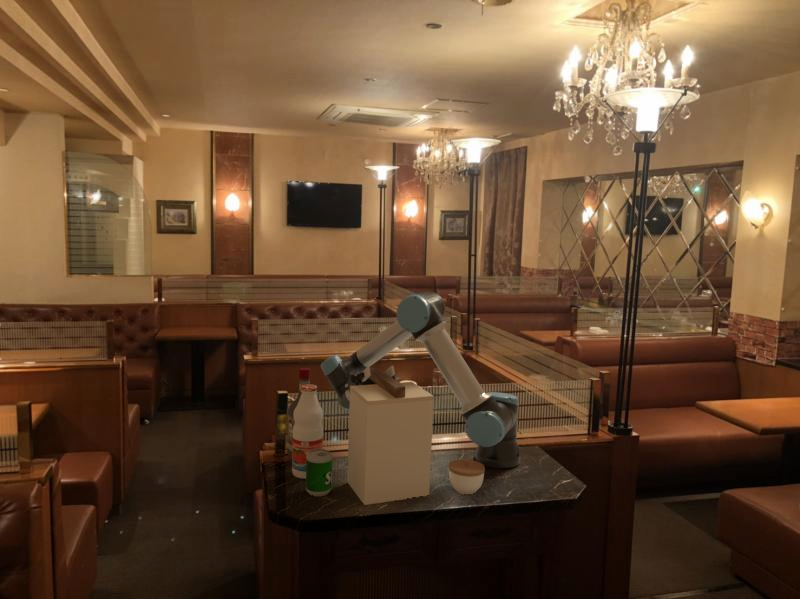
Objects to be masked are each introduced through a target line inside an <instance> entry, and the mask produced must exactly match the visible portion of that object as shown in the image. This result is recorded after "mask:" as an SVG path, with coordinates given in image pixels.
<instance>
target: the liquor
mask: <svg viewBox="0 0 800 599" xmlns="http://www.w3.org/2000/svg"><path fill="white" fill-rule="evenodd" d="M298 370H299V371H298V379H299V382H298V395H297V398H296V399H295V400H294V401H293V402H292V403H291V404H290V405H289V406H288V409H287V434H286V435H287V440H286V441H287V443H286V444H287V445H286V446H287V447H286V448H287V449H286V454H287V456H288V457H289V458H290V459H291V460H292V444H293V427H294V425H295V421H294V416H293V415H294V410H295V408H296V407H297V405H298V402H299V400H300V397H301V394H302V392H301V386H302V385H306V384H311V383H310V380H311V368H310V367H300V368H299V369H298Z"/></svg>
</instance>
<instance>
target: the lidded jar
mask: <svg viewBox="0 0 800 599" xmlns="http://www.w3.org/2000/svg"><path fill="white" fill-rule="evenodd" d="M485 470H486V469H485V465H483V464H482V463H480V462H478V461H477V460H473V459H469V458H460V459H459V458H457V459H454V460H451V461H450V462H449V463H448V478H449V482H450V485H451V486H452V488H453V489H454V490H455V492H456V491H457V492H456V493H458V492H459V493H458V494H460V493H461V495H464V494H471V495H473V493H474V494H476V492H477V491H478V490H479V489H480V488H481V486H482V485H483V482H484V476H485Z"/></svg>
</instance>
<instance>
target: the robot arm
mask: <svg viewBox="0 0 800 599" xmlns="http://www.w3.org/2000/svg"><path fill="white" fill-rule="evenodd" d="M445 313H446V302H445V301H444V299H443V298H442V296H440V294H438V293H436V292H433V291H428V290H427V291H422V292H418V293H411V294H410V295H408V296H406V297H404V298H403V299H401V301H400V302H399V304H398V305H397V309H396V321H395V322H393V323H392V324H390V325H389V326H388V327H386V328H385V329H384V330H382V331H381V332H380V333H378V334H377V335H376V336H375V337H373V338H372V339H370V340H369V341H368V342H367V343H365V344H364V345H362V346H361V347H360V348H358V349H357V350H356V351H355V352H353V353H352V354H350V355H349V356H347V357H345V358H341V357H340V356H339V355H338V354H334V355H332V356H330V357H328V358H326V359H325V360H324V361H323V362H321V364H320V368H321V370H322V372H323V374H324V376H325V377H326V379H327V381H328V382H329V384H330V385H331V388H332V389H333V390H334V391H335V393H336V395H337V404H338V406H339V407H340V408H341V409H342V410H346V411H349V409H350V386H359V385H373V384H376V383H375V382H373V381H372V380H371V379H369V377H370V376H371V374H370V368H371V366H373V365H374V364H375V363H377V362H378V361H379V360H380V359H382V358H384V357H385V356H386V355H388V354H389V353H390V352H392V351H393V350H395V349H396V348H397V347H398V346H400V345H401V344H403V343H404V342H405V341H407V340H408V339H410V338H411V337H413V339H414V340H415V341H416V342H418V343H419V342H420V343H422V344H423V346H424V347H425V350H426V351H427V352H428V354H429V356H430V357H431V359H432V360H433V362H434V364H435V365H436V367H437V369H438V370H439V372H440V374H441V375H442V377H443V378H444V380H445V381H446V383H447V385H448V386H449V388H450V390H451V391H452V394H453V395H454V396H455V398H456V399H457V401H458V403H459V404H460V406H461V410H460V415H461V417H462V418H463V420H464V421H465V432H466V436H467V437H468V438H469V439H470V441H471V442H472V443H474V444H475V445H477V448H476V449H475V455H474V457H475V461H478V462H480V463H482V464H483V465H484V467H485V466H486V467H489V468H494V469H509V468H511V469H512V468H515V467H517V466H519V465H520V463H521V453H520V450H519V444H518V441H517V435H518V434H517V432H518V420H519V419H518V418H519V408H520V405H519V397H518V396H516V395H514V394H510V393H505V392H495V391H494V392H493V391H492V392H491V391H490V392H488V391H487V392H485V391H484V389H483V388H482V386H481V384H480V383H479V381H478V379H477V378H476V376H475V375H474V373H473V372H472V369H471V368H470V366H469V365H468V364H467V362H466V361H465V359H464V357H463V356H462V354H461V352H460V350H458V348H457V346H456V344H455V343H454V341H453V340H452V338H451V336H450V335H449V333H448V332H447V330H446V324H447V321H446V319H445V318H444V316H445ZM395 372H396V370H395V366H394V365H390V366H389V367H388V368H387V369H385V371H384V373H386V374H387V375H389V376H390V377H392V378H393V379H395V380H396V376H395V375H396V373H395Z"/></svg>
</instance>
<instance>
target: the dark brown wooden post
mask: <svg viewBox="0 0 800 599" xmlns="http://www.w3.org/2000/svg"><path fill="white" fill-rule="evenodd" d="M370 374H371V376H370V377H369V379H371V380H372V381H373V382H375V383H376V384H377V385H379V386H380V387H381V388H383V389H384V390H385V391H387V392H388V393H389V394H391V395H392V396H393V397H395V398H401V397H405V388H406V387H405V386H404V385H402V384H401V383H402V382H399V381H398V380H396V378H395V379H393V378H392V377H390V376H389V375H387V374H386V373H385V371H383V370H381V369H380V368H378V367H376V366H374V367H373V366H372V367H371V366H370Z"/></svg>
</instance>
